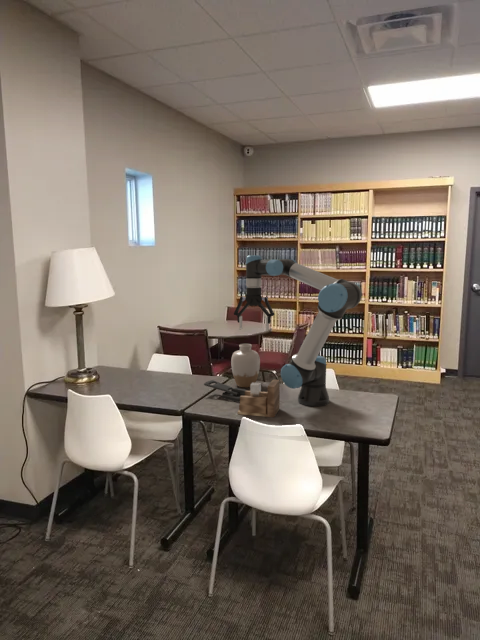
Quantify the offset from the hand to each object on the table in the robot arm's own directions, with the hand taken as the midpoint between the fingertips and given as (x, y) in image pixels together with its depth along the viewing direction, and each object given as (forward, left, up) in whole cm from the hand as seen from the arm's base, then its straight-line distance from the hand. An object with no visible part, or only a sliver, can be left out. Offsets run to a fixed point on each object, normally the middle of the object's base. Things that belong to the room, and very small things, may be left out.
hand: (254, 329), depth 236 cm
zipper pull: (+13, +3, -35) cm, 38 cm away
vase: (+10, -20, -35) cm, 41 cm away
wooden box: (-7, +21, -35) cm, 41 cm away
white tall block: (-6, +21, -34) cm, 40 cm away
